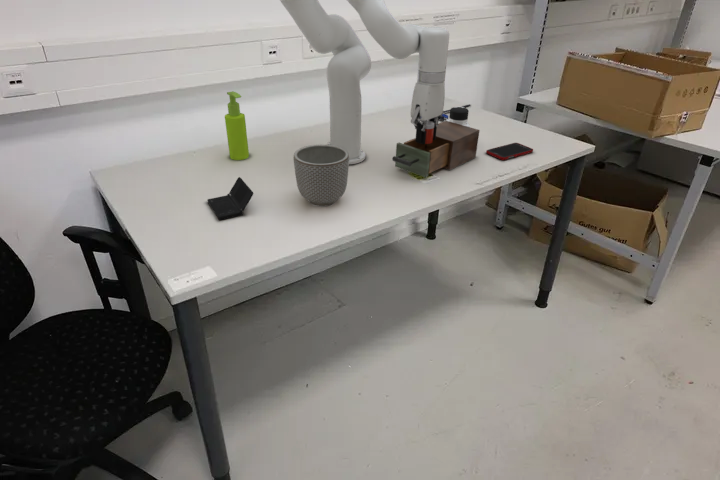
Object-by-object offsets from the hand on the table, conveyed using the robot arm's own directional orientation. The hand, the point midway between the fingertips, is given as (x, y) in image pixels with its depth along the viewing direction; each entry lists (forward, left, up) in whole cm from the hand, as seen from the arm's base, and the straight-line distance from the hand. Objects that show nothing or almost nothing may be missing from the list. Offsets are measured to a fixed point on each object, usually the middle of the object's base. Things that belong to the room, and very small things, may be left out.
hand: (425, 140), depth 143 cm
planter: (-35, -10, -9) cm, 37 cm away
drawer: (-2, -1, -8) cm, 8 cm away
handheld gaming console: (-58, -6, -9) cm, 59 cm away
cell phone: (+33, +2, -9) cm, 34 cm away
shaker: (0, 0, 0) cm, 0 cm away
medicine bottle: (+21, +16, -9) cm, 28 cm away
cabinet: (+11, +5, -9) cm, 15 cm away
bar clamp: (+36, +46, -9) cm, 59 cm away
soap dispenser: (-50, +27, -9) cm, 58 cm away
